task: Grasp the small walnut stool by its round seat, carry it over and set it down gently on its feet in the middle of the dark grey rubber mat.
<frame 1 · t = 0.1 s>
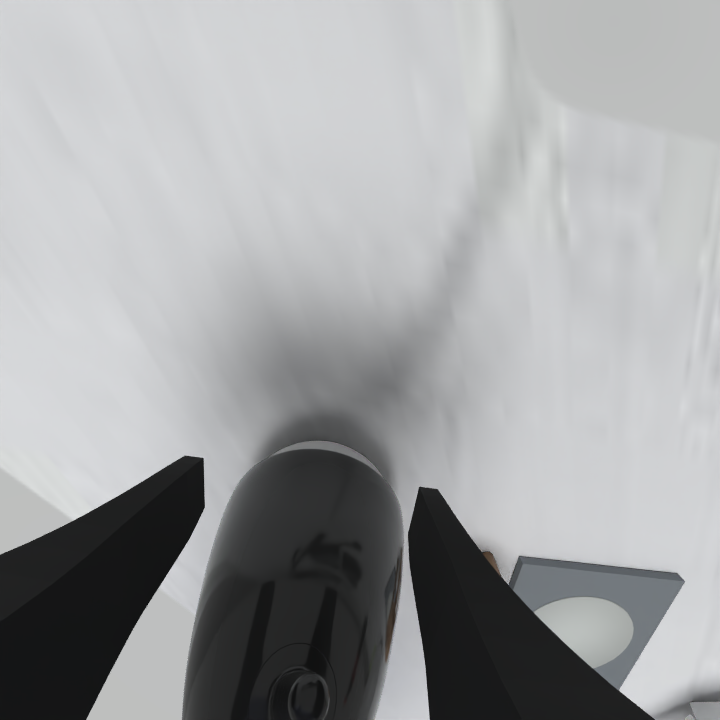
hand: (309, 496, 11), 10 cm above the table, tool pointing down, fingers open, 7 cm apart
mat: (568, 627, 27), on the table
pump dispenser: (325, 477, 23), on the table
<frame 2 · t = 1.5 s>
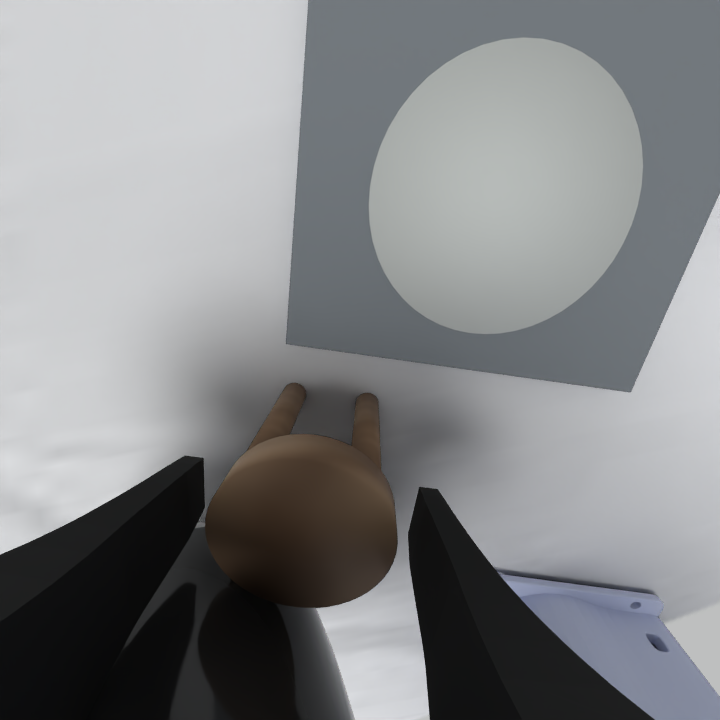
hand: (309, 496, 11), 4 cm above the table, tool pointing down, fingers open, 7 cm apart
mat: (494, 207, 12), on the table
stool: (327, 429, 15), on the table
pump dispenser: (164, 594, 16), point 2 cm above the table
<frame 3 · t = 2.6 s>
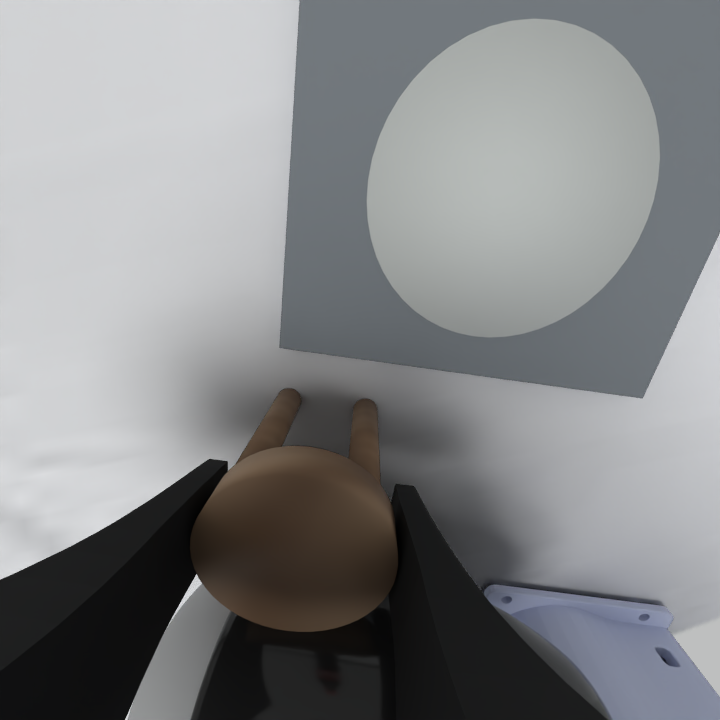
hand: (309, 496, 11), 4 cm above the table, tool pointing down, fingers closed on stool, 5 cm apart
mat: (500, 203, 11), on the table
stool: (323, 437, 14), on the table, touching gripper, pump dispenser
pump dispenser: (178, 678, 13), point 4 cm above the table, touching arm, stool
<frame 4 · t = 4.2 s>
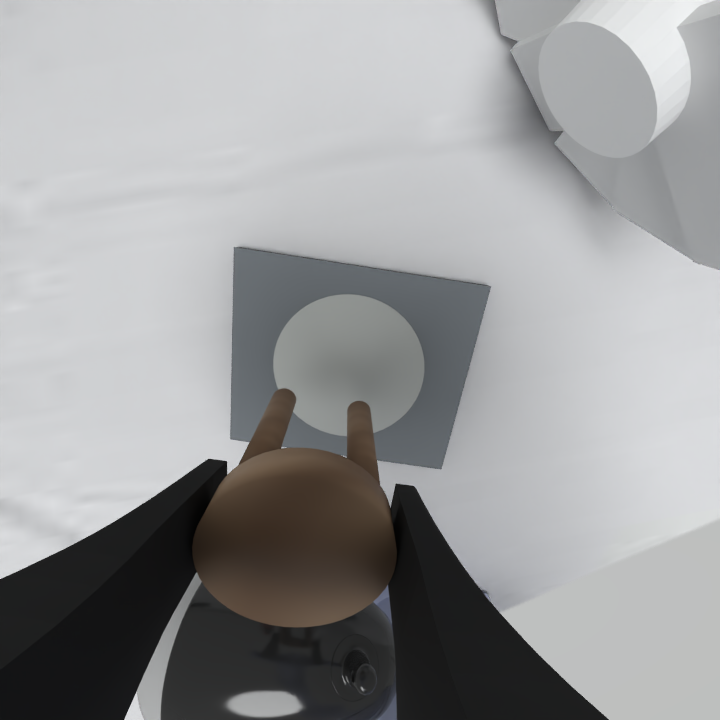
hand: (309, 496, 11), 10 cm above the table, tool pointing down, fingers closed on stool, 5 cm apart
mat: (349, 366, 21), on the table
stool: (316, 437, 15), point 6 cm above the table, touching gripper
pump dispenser: (169, 631, 22), point 5 cm above the table, touching arm
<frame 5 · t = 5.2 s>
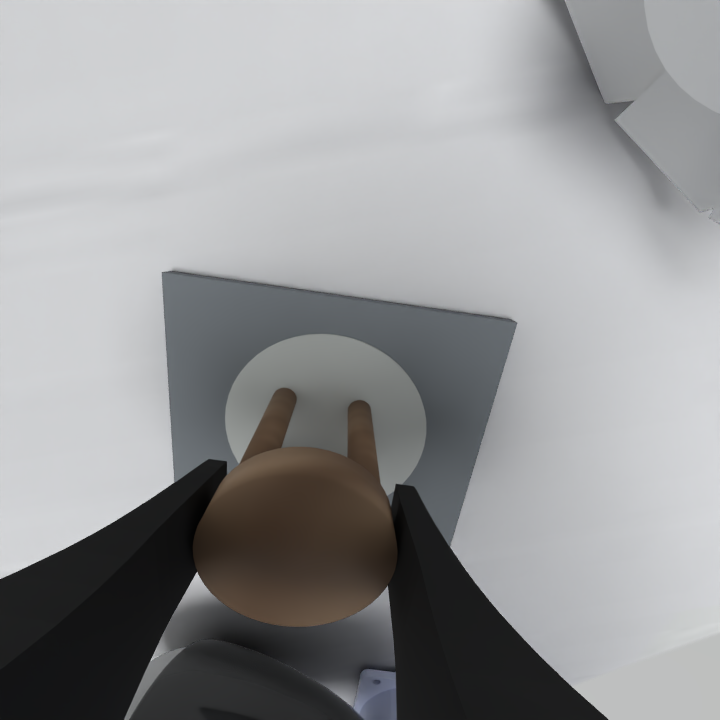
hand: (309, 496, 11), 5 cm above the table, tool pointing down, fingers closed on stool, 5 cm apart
mat: (327, 423, 16), on the table
stool: (316, 436, 15), point 1 cm above the table, touching gripper
when the fingers open (5 cm above the table, at t = 6.2 s): stool stays where it is, resting on mat.
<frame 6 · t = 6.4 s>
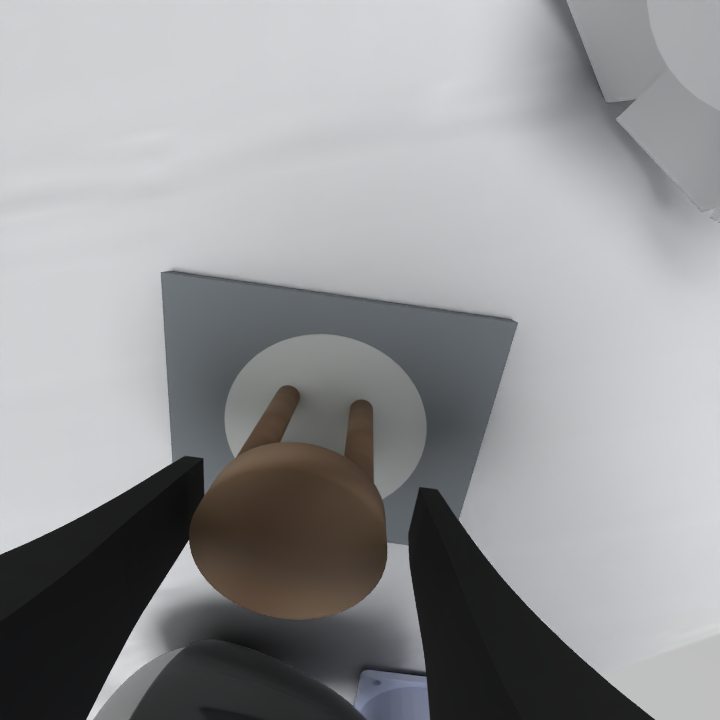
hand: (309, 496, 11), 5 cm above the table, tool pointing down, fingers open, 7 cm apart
mat: (327, 424, 16), on the table
stool: (319, 434, 15), point 1 cm above the table, touching mat
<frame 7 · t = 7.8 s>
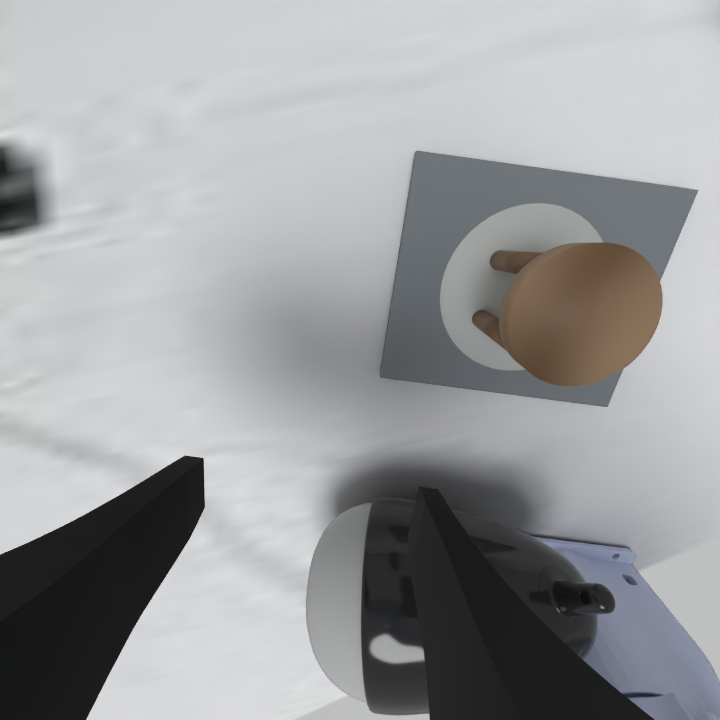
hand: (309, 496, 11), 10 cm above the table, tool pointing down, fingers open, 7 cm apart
mat: (518, 291, 19), on the table
stool: (518, 295, 18), point 1 cm above the table, touching mat
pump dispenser: (315, 585, 20), point 5 cm above the table, touching arm
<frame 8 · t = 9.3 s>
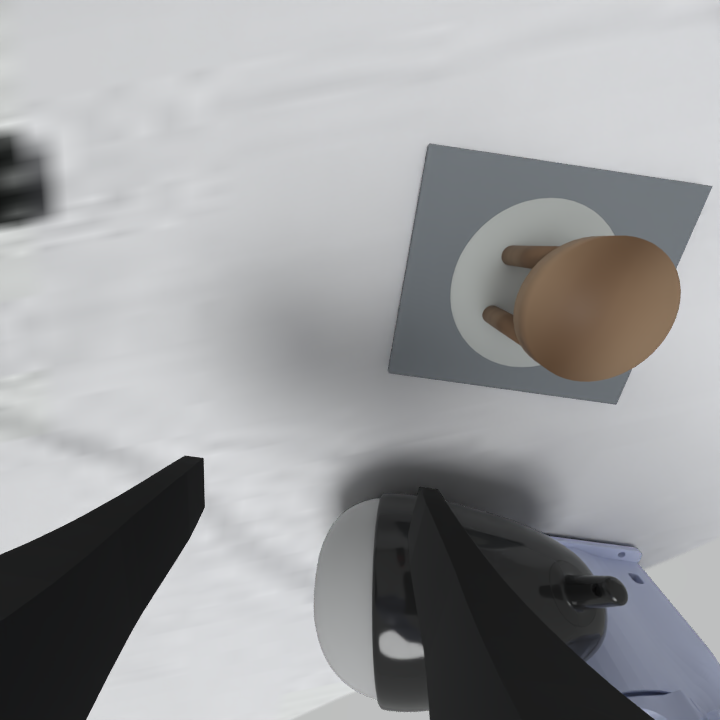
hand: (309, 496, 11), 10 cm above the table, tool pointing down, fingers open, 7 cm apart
mat: (528, 287, 19), on the table
stool: (529, 291, 18), point 1 cm above the table, touching mat
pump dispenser: (322, 581, 20), point 5 cm above the table, touching arm
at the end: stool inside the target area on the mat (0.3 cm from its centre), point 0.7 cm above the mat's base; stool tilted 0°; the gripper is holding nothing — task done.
